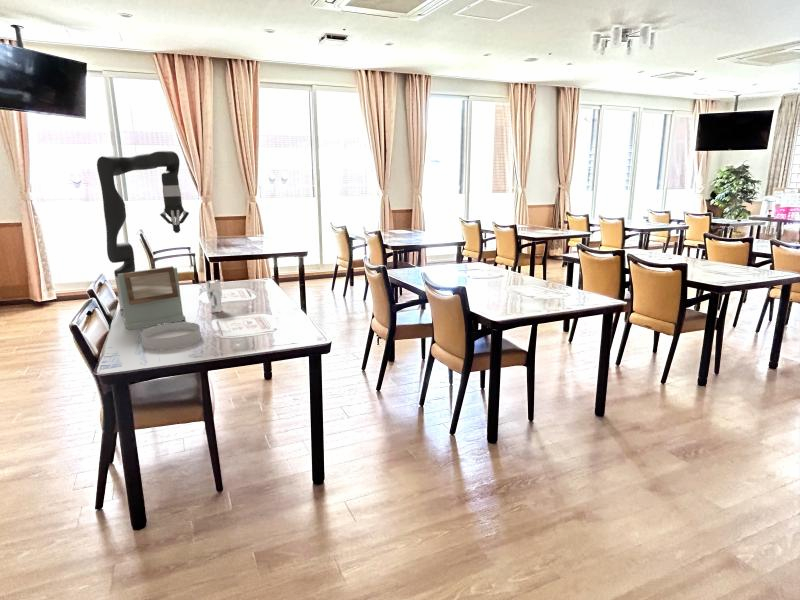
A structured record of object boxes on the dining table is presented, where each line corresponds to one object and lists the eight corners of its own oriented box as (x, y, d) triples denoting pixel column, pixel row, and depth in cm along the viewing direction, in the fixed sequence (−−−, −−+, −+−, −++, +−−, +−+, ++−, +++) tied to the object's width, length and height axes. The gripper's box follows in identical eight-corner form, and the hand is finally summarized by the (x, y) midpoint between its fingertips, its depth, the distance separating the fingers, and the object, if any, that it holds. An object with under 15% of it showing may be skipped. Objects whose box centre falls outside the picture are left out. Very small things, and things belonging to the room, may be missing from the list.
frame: (129, 304, 225) (123, 273, 222) (177, 295, 236) (172, 266, 232) (130, 305, 224) (123, 273, 220) (178, 296, 234) (173, 266, 230)
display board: (124, 323, 234) (116, 272, 228) (180, 315, 247) (173, 265, 241) (127, 330, 224) (119, 276, 218) (185, 320, 237) (179, 269, 231)
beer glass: (208, 313, 248) (204, 283, 244) (209, 310, 254) (206, 280, 251) (223, 312, 249) (220, 282, 246) (224, 308, 256) (221, 279, 252)
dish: (134, 342, 208) (132, 330, 207) (188, 330, 223) (186, 319, 222) (154, 354, 192) (152, 342, 191) (210, 340, 207) (209, 329, 206)
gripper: (185, 194, 245) (189, 230, 249) (155, 195, 238) (160, 233, 242) (188, 194, 239) (193, 232, 243) (158, 196, 232) (163, 234, 236)
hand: (176, 232), depth 243 cm, fingers closed
